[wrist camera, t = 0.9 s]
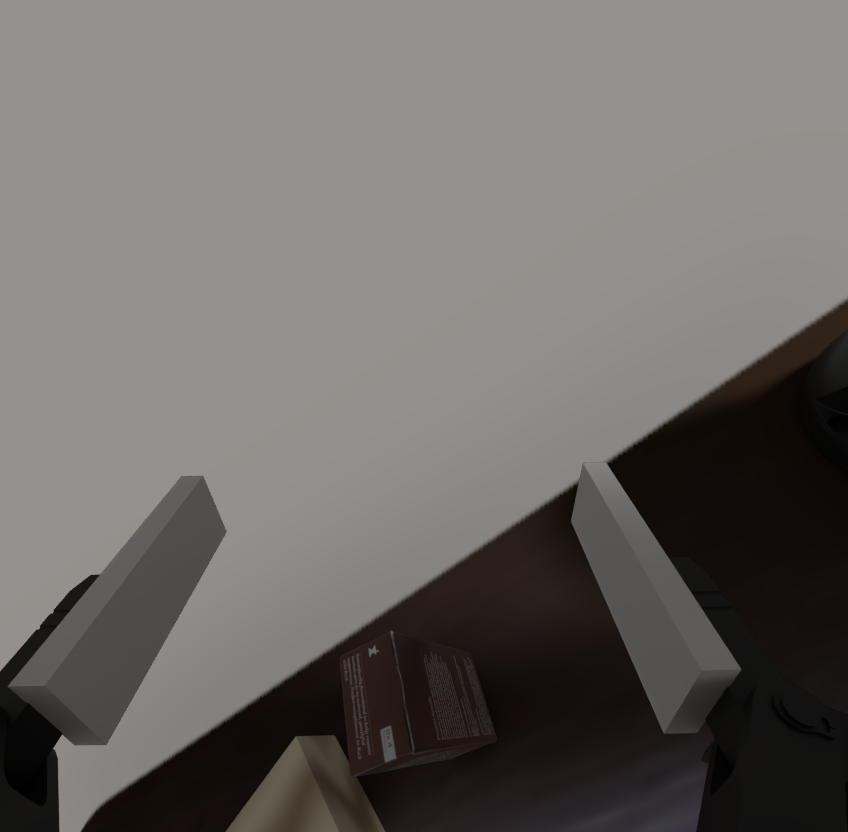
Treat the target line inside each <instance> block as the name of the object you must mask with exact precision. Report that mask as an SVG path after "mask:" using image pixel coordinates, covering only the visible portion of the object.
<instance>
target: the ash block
mask: <svg viewBox="0 0 848 832" xmlns="http://www.w3.org/2000/svg"><path fill="white" fill-rule="evenodd" d="M226 832H385V830H384V828H383V826H382V824H381V822H380V821H379V819H378V817H377V815H376V813H375V811H374V809H373V807H372V805H371V803H370V802H369V800H368V798H367V796H366V794H365V792H364V790H363V788H362V786H361V784H360V783H359V781H358V779H357V777H351V776H350V765H349V762H348V760H347V758H346V756H345V754H344V752H343V750H342V748H341V746H340V745H339V743H338V741H337V739H336V737H335V735H327V736H296V737H295V738H294V740H293V741H292V742H291V744H290V745H289V746H288V748H287V749H286V750H285V752H284V753H283V755H282V756H281V757H280V759H279V760H278V761H277V763H276V764H275V765H274V767H273V768H272V769H271V771H270V772H269V774H268V775H267V776H266V778H265V779H264V780H263V782H262V783H261V784H260V786H259V787H258V788H257V790H256V791H255V793H254V794H253V795H252V797H251V798H250V799H249V801H248V802H247V803H246V805H245V806H244V807H243V809H242V810H241V812H240V813H239V814H238V816H237V817H236V818H235V820H234V821H233V822H232V824H231V825H230V826H229V828H228V829H227V831H226Z"/></svg>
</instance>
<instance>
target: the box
mask: <svg viewBox="0 0 848 832" xmlns="http://www.w3.org/2000/svg"><path fill="white" fill-rule="evenodd" d="M339 660H340V671H341V681H342V691H343V702H344V712H345V723H346V733H347V744H348V754H349V765H350V776H351V777H359V776H365V775H370V774H375V773H381V772H386V771H392V770H396V769H401V768H406V767H411V766H417V765H421V764H427V763H431V762H437V761H443V760H449V759H452V758H455V757H457V756H460V755H462V754H465V753H467V752H470V751H473V750H475V749H477V748H480V747H483V746H485V745H488V744H490V743H493V742H495V741H496V740H497V736H496V733H495V730H494V726H493V723H492V720H491V716H490V713H489V710H488V706H487V703H486V700H485V696H484V693H483V690H482V687H481V683H480V680H479V677H478V674H477V670H476V667H475V664H474V661H473V658H472V654H471V652H467V651H463V650H460V649H456V648H453V647H449V646H445V645H441V644H437V643H434V642H430V641H427V640H423V639H419V638H415V637H412V636H408V635H405V634H401V633H398V632H394V631H389V632H388V633H386V634H384V635H382V636H380V637H378V638H376V639H374V640H372V641H370V642H368V643H366V644H364V645H362V646H360V647H358V648H356V649H354V650H352V651H350V652H348V653H346V654H344V655H342V656H341V657H340V658H339Z"/></svg>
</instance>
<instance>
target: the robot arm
mask: <svg viewBox="0 0 848 832" xmlns="http://www.w3.org/2000/svg"><path fill="white" fill-rule="evenodd" d="M800 411H801V416H802V420H803V423H804V425H805V428H806V430H807V432H808V434H809V435H810V437H811V438H812V440H813V441H814V443H815V444H816V445H817V446H818V448H819V449H820V450H821V451H822V452H823V453H824V454H825V455H826V456H827V457H828V458H829V459H830V460H832V461H833V462H834V463H835V464H836V465H838V466H839V467H840V468H842V469H843V470H844V471H846V472H847V473H848V329H847V330H846V331H845V332H843V333H842V334H841V335H840V336H839V337H838V338H837V339H835V340H834V341H833V342H832V343H831V344H830V345H829V346H828V347H827V348H825V349H824V350H823V352H822V353H821V354H820V355H819V356H818V358H817V359H816V360H815V362H814V363H813V365H812V367H811V368H810V371H809V373H808V375H807V378H806V381H805V384H804V387H803V390H802V393H801V399H800ZM571 522H572V525H573V527H574V529H575V532H576V534H577V536H578V539H579V541H580V543H581V545H582V548H583V550H584V552H585V555H586V557H587V559H588V561H589V564H590V566H591V568H592V571H593V573H594V575H595V577H596V580H597V582H598V584H599V587H600V589H601V591H602V593H603V596H604V598H605V600H606V603H607V605H608V607H609V609H610V612H611V614H612V616H613V619H614V621H615V623H616V625H617V628H618V630H619V632H620V635H621V637H622V639H623V641H624V644H625V646H626V648H627V651H628V653H629V655H630V657H631V660H632V662H633V664H634V667H635V669H636V671H637V673H638V676H639V678H640V680H641V683H642V685H643V687H644V689H645V692H646V694H647V696H648V699H649V701H650V703H651V706H652V708H653V710H654V712H655V715H656V717H657V719H658V722H659V724H660V726H661V728H662V731H663V733H664V734H667V733H698V731H699V730H700V728H701V727H702V725H703V724H704V723H705V721H706V722H707V724H708V726H709V728H710V730H711V732H712V734H713V735H714V737H715V739H714V741H713V742H712V743H711V745H710V746H709V747H708V749H707V750H706V751H705V753H704V755H703V757H702V759H701V760H702V761H704V762H705V763H708V761H709V765H708V770H707V776H706V782H705V787H704V793H703V798H702V804H701V809H700V815H699V820H698V826H697V831H696V832H848V714H847V713H843V712H840V711H837V710H834V709H831V708H829V707H826V706H824V705H823V704H822V703H821V702H820V701H819V700H818V699H817V698H816V697H815V696H814V695H812V694H811V693H809V692H808V691H806V690H805V689H803V688H802V687H800V686H799V685H797V684H795V683H792V682H790V681H787V680H786V679H785V678H784V676H783V675H782V674H781V673H780V672H779V671H778V669H777V668H776V667H775V665H774V664H773V663H772V661H771V660H770V658H769V657H768V656H767V654H766V653H765V652H764V650H763V649H762V648H761V646H760V645H759V643H758V642H757V641H756V639H755V638H754V637H753V635H752V634H751V632H750V631H749V630H748V628H747V627H746V626H745V624H744V623H743V621H742V620H741V619H740V617H739V616H738V615H737V613H736V612H735V610H732V608H731V605H730V604H729V602H728V601H727V599H726V598H725V597H724V595H721V593H720V590H719V589H718V587H717V586H716V584H715V583H714V582H713V580H712V579H711V578H710V576H709V575H708V573H707V572H706V571H704V570H703V569H702V568H701V567H700V566H698V565H697V564H696V563H695V562H693V561H692V560H691V559H690V558H689V557H667V555H666V554H665V552H664V550H663V549H662V547H661V546H660V544H659V543H658V541H657V540H656V538H655V537H654V535H653V534H652V532H651V531H650V529H649V528H648V526H647V524H646V523H645V521H644V520H643V518H642V517H641V515H640V514H639V512H638V511H637V509H636V508H635V506H634V505H633V503H632V502H631V500H630V499H629V497H628V495H627V494H626V492H625V491H624V489H623V488H622V486H621V485H620V483H619V482H618V480H617V479H616V477H615V476H614V474H613V473H612V471H611V469H610V468H609V466H608V465H607V463H606V462H592V463H583V465H582V470H581V475H580V480H579V485H578V489H577V494H576V499H575V504H574V509H573V514H572V519H571ZM225 534H226V529H225V527H224V524H223V522H222V520H221V517H220V515H219V513H218V510H217V508H216V505H215V503H214V501H213V498H212V496H211V493H210V491H209V489H208V486H207V484H206V482H205V480H204V477H203V476H181V477H180V479H179V480H178V481H177V482H176V484H175V485H174V486H173V487H172V488H171V490H170V491H169V492H168V493H167V494H166V496H165V497H164V498H163V499H162V500H161V502H160V503H159V504H158V505H157V507H156V508H155V509H154V510H153V512H152V513H151V514H150V515H149V516H148V517H147V519H146V520H145V521H144V522H143V523H142V525H141V526H140V527H139V528H138V530H137V531H136V532H135V533H134V534H133V536H132V537H131V538H130V539H129V540H128V542H127V543H126V544H125V545H124V547H123V548H122V549H121V550H120V551H119V553H118V554H117V555H116V556H115V557H114V559H113V560H112V561H111V562H110V563H109V565H108V566H107V567H106V568H105V569H104V571H103V572H102V573H101V574H100V575H90V576H89V577H88V578H86V579H85V580H84V581H83V582H81V583H80V584H79V585H77V586H76V587H75V588H73V589H72V590H71V591H70V592H69V593H68V594H67V595H66V596H65V598H64V599H63V600H62V601H61V602H60V603H59V604H58V606H57V607H56V608H55V609H54V612H53V614H50V615H49V616H48V617H47V618H46V619H45V621H44V622H43V623H42V624H41V625H40V629H39V630H36V631H35V632H34V633H33V634H32V636H31V637H30V638H29V639H28V640H27V642H25V644H24V645H23V646H22V647H21V648H20V649H19V651H18V652H17V653H16V654H15V655H14V656H13V658H12V659H11V660H10V661H9V662H8V663H7V664H6V666H5V667H4V668H3V669H2V670H1V671H0V832H59V799H58V758H57V755H56V752H55V750H54V749H53V748H54V746H55V744H56V743H57V741H58V740H59V738H60V737H61V735H64V736H65V737H66V738H67V739H68V740H69V741H70V742H72V743H73V744H74V745H106V744H107V743H108V741H109V739H110V737H111V736H112V734H113V732H114V730H115V728H116V727H117V725H118V723H119V722H120V720H121V717H122V716H123V714H124V712H125V711H126V709H127V707H128V706H129V704H130V702H131V700H132V699H133V697H134V695H135V693H136V691H137V690H138V688H139V686H140V684H141V683H142V681H143V679H144V677H145V675H146V674H147V672H148V670H149V668H150V667H151V665H152V663H153V661H154V660H155V657H156V656H157V654H158V652H159V650H160V649H161V647H162V645H163V643H164V642H165V640H166V638H167V637H168V635H169V633H170V631H171V629H172V628H173V626H174V624H175V622H176V621H177V619H178V617H179V615H180V614H181V612H182V610H183V608H184V606H185V605H186V603H187V601H188V599H189V597H190V596H191V594H192V592H193V591H194V589H195V587H196V585H197V583H198V582H199V580H200V578H201V576H202V575H203V573H204V571H205V569H206V568H207V566H208V564H209V562H210V560H211V559H212V557H213V555H214V553H215V552H216V550H217V548H218V546H219V545H220V543H221V541H222V539H223V537H224V536H225Z"/></svg>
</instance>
